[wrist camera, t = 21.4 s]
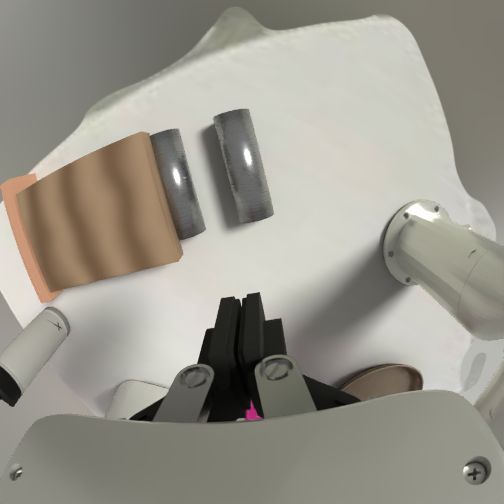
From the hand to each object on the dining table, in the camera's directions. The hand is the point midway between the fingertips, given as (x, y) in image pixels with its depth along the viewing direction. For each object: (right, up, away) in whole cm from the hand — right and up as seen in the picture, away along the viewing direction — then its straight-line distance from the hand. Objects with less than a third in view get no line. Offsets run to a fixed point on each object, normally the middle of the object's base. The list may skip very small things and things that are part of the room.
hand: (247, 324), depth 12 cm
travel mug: (-34, -9, +28) cm, 45 cm away
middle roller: (-8, +12, +20) cm, 24 cm away
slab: (-19, +7, +18) cm, 27 cm away
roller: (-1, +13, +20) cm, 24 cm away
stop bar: (-31, +6, +22) cm, 39 cm away
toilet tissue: (-20, -24, +33) cm, 46 cm away
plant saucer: (+23, -25, +34) cm, 48 cm away
